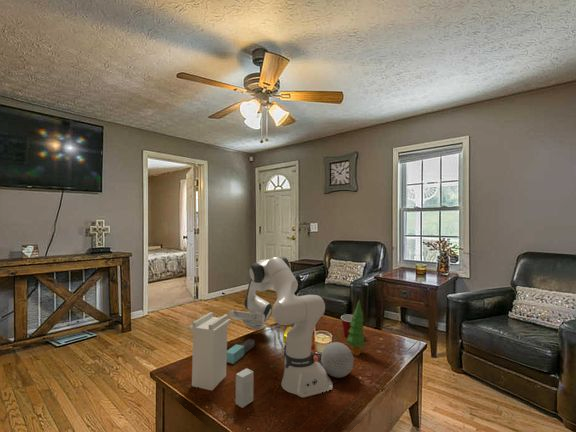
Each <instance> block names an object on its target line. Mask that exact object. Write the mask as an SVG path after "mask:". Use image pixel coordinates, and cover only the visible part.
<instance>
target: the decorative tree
mask: <svg viewBox="0 0 576 432" xmlns="http://www.w3.org/2000/svg"><path fill="white" fill-rule="evenodd" d="M352 315H353V317H352V321H351V323H350V325H351V327H350V329H349V331H348V332H350V334H349V336H348V338H347V337H346V340H347V344H348V345H349V346H350V347H352V349H350V351H351V352H352V353H353V354H360V353H361V354H362V350H361V348H362V347H364V346H365V342H364V341H365V336H364V335H363V333H364V324H363V323H364V322H365V320H364V312H363V309H362V305H361V301H360V298H359V300H358V301H357V304H356V307H355V310H354V312H353V313H352ZM353 354H352V355H353Z"/></svg>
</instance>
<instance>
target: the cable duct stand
mask: <svg viewBox="0 0 576 432" xmlns="http://www.w3.org/2000/svg"><path fill="white" fill-rule="evenodd" d="M231 320H232V318H231V319H230V318H229V314H227V313H226V314H223V315H222V316H220V317H215V316H214V312H212V311H211V312H208V313H206V314H205V315H203V316H201V317H200V318H198V319H196V320H194V321H193V322H192V325H189V332H191V333H192V360H191V361H192V362H191V363H192V365H191V366H192V369H191V387H195V388H198V387H199V389H203V390H207V391H213V390H214V389H215V388H216V387H217V386H218V385H219V384H220V383H221V382H222V381H223V380H224V379H225V378H226V377H227V363H228V362H227V350H228V326H229V325H231V322H232V321H231Z"/></svg>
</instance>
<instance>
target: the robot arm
mask: <svg viewBox="0 0 576 432" xmlns="http://www.w3.org/2000/svg"><path fill="white" fill-rule="evenodd" d="M249 277H250V278H251V279H250V281H249V283H248V287H247V290H246V295H245V298H244V301H243V305H244V309H245V310H247V311H241V310H240V311H238V310H232V309H231V310H229V314H228V318H229V317H230V318H231V319H234V320H237V321H242V323H243V324H244V325H245V326H246V327H247V328H250V329H253V330H255V331H259V330H262V329H263V328H265V325H266V321H268V319H270V318H271V315H272V318H273V319H274V322H275V323H276V324H277V325H280V326H281V325H285V326H286V325H288V326H289V325H293V326H291V327H292V329H291V330H290V331H289V332H288V333H287V336H286V343H285V344H286V345H285V351H284V358H283V359H284V360H283V362H284V370H283V371H284V372H283V377H282V380H281V384H280V385H281V387H282V389H283V390H284V391H286V392H288V393H290V394H293V395H297V397H299V398H306V397H312V396H314V395H318V394H322V392H323V393H326V391H327V392H330V391H329V390H331V391H332V390H333V388H334V387H333V386H334V385H333V381H332V380H331V378H330V377H329V376H328V373H327V372H326V371H325V369H324V367H323V366H322V363H320V362H318V361H319V356H317V355H316V354H315V352H313V351H312V340H313V339H312V338H313V333H314V329H315V328H316V325H317V323H318V321H319V320H320V319H321V317H322V316H324V314H325V310H326V304H325V301H324V299H323V297H321V296H320V295H317V294H305V295H304V294H303V295H298V296H297V295H296V294H295V293H296V292H297V290H298V286H299V283H298V282H299V281H298V280H297V278H296V277H295V274H293V271H292V270H291V264H290V262H289V259H287V258H286V257H285V256H274V257H270V258H267V259H260V260H258V261H257V262H254V263H253V264H251V265H250V266H249ZM272 287H273V289H274V291H275V293H276V301H275V302H274V304H273V305H272V304H271V303H270V302H268V301H267V300H265V299H263V298H262V297H260V296H259V295H257V294H256V292H257V291H258V292H265V291H268V290H270V288H272Z"/></svg>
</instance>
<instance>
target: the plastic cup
mask: <svg viewBox="0 0 576 432" xmlns="http://www.w3.org/2000/svg"><path fill="white" fill-rule="evenodd" d="M353 315H354V314H343V315H341V316H340V319H341V322H342V329H343V336H344V337H345V338H346V339H347V338H348V336H349V334H350V332H348V331H349V329H350V327H351V325H350V323H351V321H352V317H353Z"/></svg>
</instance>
